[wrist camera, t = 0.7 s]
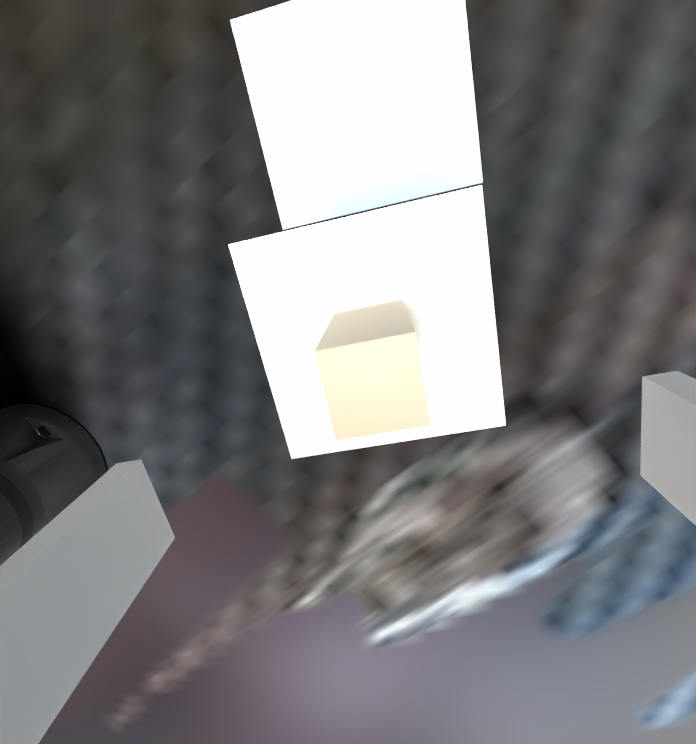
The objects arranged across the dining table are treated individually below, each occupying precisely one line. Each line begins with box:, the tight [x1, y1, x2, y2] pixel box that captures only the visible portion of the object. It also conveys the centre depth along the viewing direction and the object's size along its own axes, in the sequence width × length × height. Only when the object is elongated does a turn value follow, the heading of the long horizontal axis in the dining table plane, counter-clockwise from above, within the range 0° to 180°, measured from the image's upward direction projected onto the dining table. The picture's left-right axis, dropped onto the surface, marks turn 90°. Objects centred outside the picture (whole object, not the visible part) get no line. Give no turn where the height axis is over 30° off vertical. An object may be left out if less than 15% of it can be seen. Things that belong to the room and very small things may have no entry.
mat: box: [230, 0, 483, 230], centre depth 33 cm, size 18×16×1 cm
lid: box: [229, 185, 506, 459], centre depth 20 cm, size 14×14×9 cm
